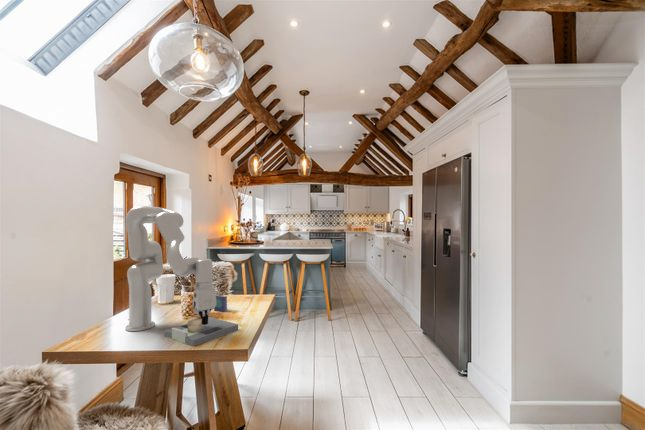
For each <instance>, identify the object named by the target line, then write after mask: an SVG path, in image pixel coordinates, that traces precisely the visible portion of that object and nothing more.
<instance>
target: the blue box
mask: <svg viewBox="0 0 645 430" xmlns="http://www.w3.org/2000/svg"><path fill="white" fill-rule="evenodd" d="M215 294H216V293H215ZM222 294H223V292H218V293H217V294H216V306H215V308H214V309H213V311H215V312H222V313H226V312H228V295H222Z"/></svg>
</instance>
